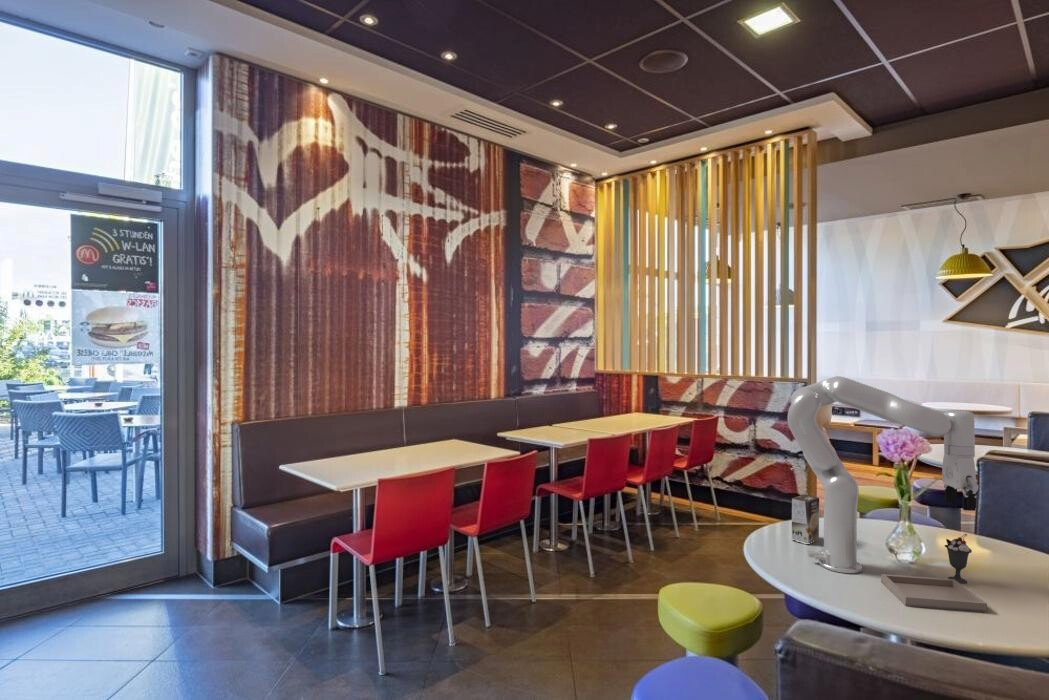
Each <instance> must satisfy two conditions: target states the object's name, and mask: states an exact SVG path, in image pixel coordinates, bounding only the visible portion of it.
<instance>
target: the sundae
mask: <svg viewBox="0 0 1049 700" xmlns="http://www.w3.org/2000/svg"><path fill="white" fill-rule="evenodd" d="M967 536H968V534H966V533H964V534H963V535H962V536H959V537H957V538H954V539H952V540H950V539H948V538H946V539H945V540H946V544H945V545H944V548H946V549H947V555H948V561H949V564H950V566H951V567H952V568H953V569H954V570H955V571H954V576H948V577H947V579H954V580H956V581H957V582H959V583H960V584H961V585H965V584H968V583H969V581H968V580H967V579H966V578H962V576H961V571H962V570H963V569H965V568H967V565H968V559H969V558H968V557H969V554H971V553H972V552H973V551H972V548H970V547H969V546H968V545H967V541H966V540H965V537H967Z"/></svg>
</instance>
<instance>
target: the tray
mask: <svg viewBox="0 0 1049 700" xmlns="http://www.w3.org/2000/svg"><path fill="white" fill-rule="evenodd" d="M880 582H881V584H882V585H884V586H885V588H887V590H889V592H890V593H892V594H893V595H894V596H895V597H896V598H897V599H898V600H899V601H900V602H901V603H902V604H903V605H904V606H905V607H912V606H913V607H914V608H925V609H926V608H927V609H935V610H936V609H940V610H950V611H951V610H952V611H961V612H962V611H963V612H973V613H974V612H975V613H985V612H987V613H988V603H987V602H986V601H984V600H983V599H982V598H980V597H979V596H977V595H976V594H975V593H973V592H972V591H971V590H970V589H968V588H966V587H965V586H964V584H960V583H959V582H957V581H956V580H954V579H948V578H939V577H938V578H937V577H928V576H927V577H926V576H915V575H914V576H912V575H900V574H898V575H897V574H896V575H895V574H883V573H881V574H880Z"/></svg>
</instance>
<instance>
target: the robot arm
mask: <svg viewBox="0 0 1049 700" xmlns="http://www.w3.org/2000/svg"><path fill="white" fill-rule="evenodd" d="M790 403H791V404H790V406H789V409H788V411H787V424H788V428H789V430H790V432H791V434H792V435H793V438H794V439H795V441H796V442H797V445H798V447H800V450H801V451H802V454H803V457H804V459H805V460H806V463H807V464H808V466H809V468H810V469H811V470H812V472H813V473H814V475H815V476H816V477H817V479H818V481H819V482H820V484H821V485H822V487H823V488H824V498H823V499H824V501H823V547H821V548H820V550H817V551H812V550H811V551H810V550H807V556H808V558H814V560H818V564H819V565H820V566H821V567H823V568H824V569H828V570H830V571H833V572H836V573H837V572H838V573H843V574H858V573H861V572H862V571H863V566H862V565H863V564H861V563H860V562H859V561H857V560H858V559H857V558H858V557H857V554H858V553H857V552H858V551H857V550H858V548H857V547H858V546H857V545H858V543H857V542H858V540H857V539H858V536H857V535H858V534H857V533H858V521H857V520H858V502H859V494H860V493H859V492H860V491H859V486H858V483H857V480H856V479H855V478H854V476H853V475H852V474H851V473H850V472H849V471H848V470H847V468H846V467H845V464H843V462H842V461H841V459H840V458H839V456H838V453H837V452H836V449H835V447H834V446H833V445H832V444H831V443H830V442H829V440H828V439H827V437H826V436H825V434H824V432H823V431H822V429H821V427H820V426H819V425H818V422H817V418H816V416H817V414H818V412H819V411H820V409H821V408H822V407H826V406H829V405H831V404H834V403H839V404H841V405H844V406H847V407H849V408H853V409H854V410H855V409H856V410H858V411H861V412H863V413H866V414H869V415H872V416H875V417H876V418H879V419H881V420H882V419H883V420H886V421H889V422H893V423H896V424H899V425H902V426H905V427H908V428H911V429H914V430H915V431H918V432H921V433H924V434H927V435H929V436H932V437H941V436H942V437H943V458H942V468H941V469H942V471H941V481H942V483H943V488H944V500H945V501H946V502H951V503H953V502H958V490H961V491H962V494H963V496H962V499H961V500H962V510H963V511H973V512H974V511H976V509H977V508H976V507H977V506H976V505H977V504H976V503H977V501H976V498H977V495H978V490H979V485H978V483H977V482H976V481H977V476H976V465H975V459H974V458H975V456H976V451H975V450H976V449H975V447H976V446H975V444H976V442H975V440H976V439H975V437H976V435H975V433H976V432H975V426H976V425H975V415H974V414H973V412H971V411H968V410H957V409H956V410H953V409H952V410H940V409H939V410H938V409H932V408H928V407H925V406H923V405H920V404H917V403H914V402H912V401H910V400H907V399H904V398H902V397H900V396H897V395H895V394H893V393H891V392H888V391H885V390H882V389H880V388H876V387H873V386H870V385H867V384H864V383H862V382H859V381H856V380H854V379H849V378H847V377H845V376H833V377H829V378H827V379H823V380H821V381H818V382H815V383H812V384H809V385H806V386H803V387H800V388H798V389H796V390H795V391H793V393H792V394H791V396H790Z"/></svg>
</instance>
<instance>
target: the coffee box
mask: <svg viewBox="0 0 1049 700" xmlns="http://www.w3.org/2000/svg"><path fill="white" fill-rule="evenodd" d="M792 539H795V540H799V541H802V542H805V543H811V542H813V541H815V542H817V541H816V540H818V539H820V497H816V496H813V495H806V494H801V495H798V496H795V497H792V498H791V540H792ZM818 541H819V540H818ZM813 543H814V542H813ZM811 544H812V543H811Z"/></svg>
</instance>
